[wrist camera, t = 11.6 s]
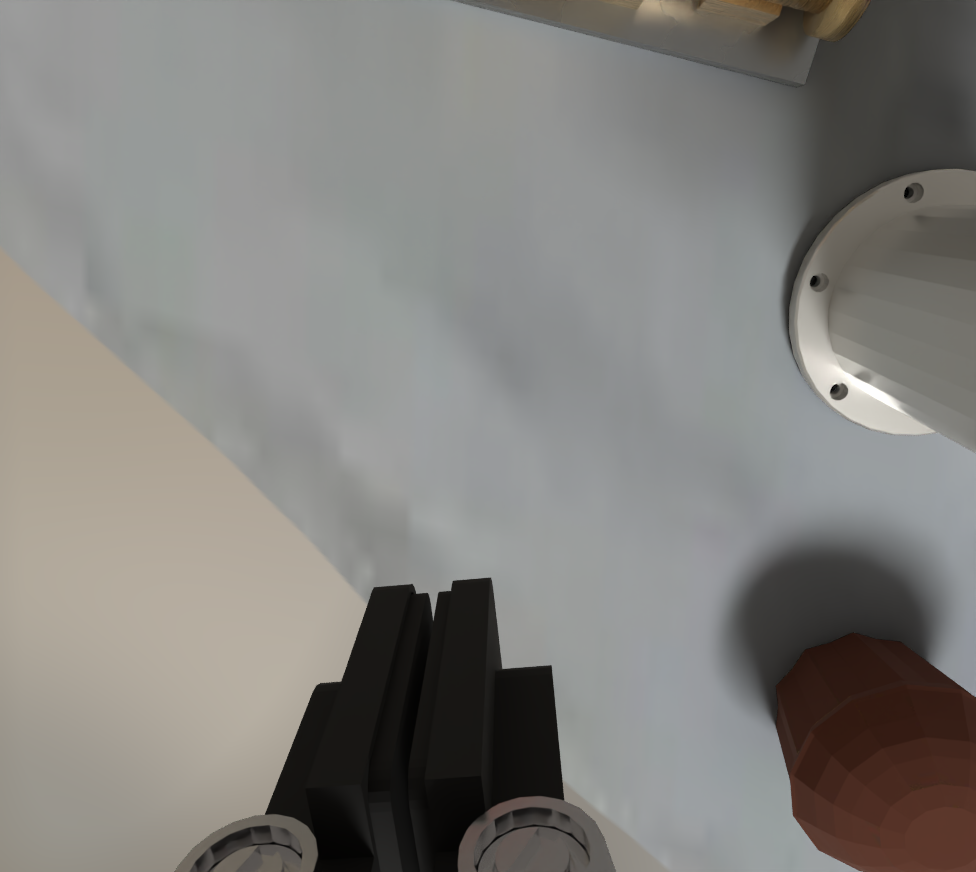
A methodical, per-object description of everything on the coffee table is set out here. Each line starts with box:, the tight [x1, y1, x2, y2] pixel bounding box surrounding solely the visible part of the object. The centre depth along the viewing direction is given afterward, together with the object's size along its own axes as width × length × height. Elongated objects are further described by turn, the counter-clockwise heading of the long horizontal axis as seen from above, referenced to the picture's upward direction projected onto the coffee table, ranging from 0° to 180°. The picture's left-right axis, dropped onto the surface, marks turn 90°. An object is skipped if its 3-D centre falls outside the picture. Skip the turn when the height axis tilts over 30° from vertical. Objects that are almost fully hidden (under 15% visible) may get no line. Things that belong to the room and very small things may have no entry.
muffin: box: [776, 632, 976, 872], centre depth 40 cm, size 12×11×10 cm
